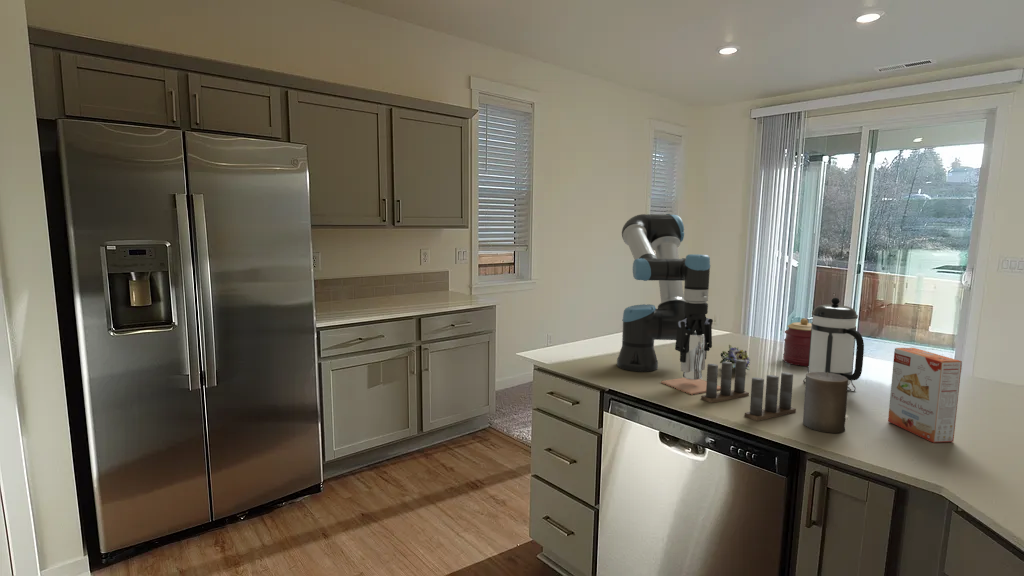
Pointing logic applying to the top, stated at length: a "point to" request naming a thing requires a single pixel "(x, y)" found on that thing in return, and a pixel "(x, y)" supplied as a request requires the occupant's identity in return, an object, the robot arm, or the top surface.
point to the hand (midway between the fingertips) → (692, 370)
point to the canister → (797, 343)
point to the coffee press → (835, 341)
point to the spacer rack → (756, 390)
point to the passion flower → (735, 356)
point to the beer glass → (695, 356)
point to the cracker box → (925, 393)
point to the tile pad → (688, 385)
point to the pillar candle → (825, 402)
